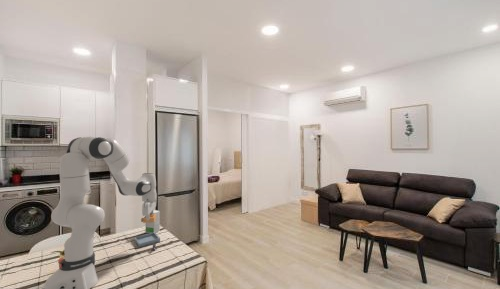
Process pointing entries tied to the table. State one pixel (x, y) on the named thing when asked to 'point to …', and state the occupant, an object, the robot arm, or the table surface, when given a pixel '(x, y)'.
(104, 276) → the table surface
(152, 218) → the orange hollow block
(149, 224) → the skincare box
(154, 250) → the stake
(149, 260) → the table surface
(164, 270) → the table surface
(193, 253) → the table surface
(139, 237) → the tray
